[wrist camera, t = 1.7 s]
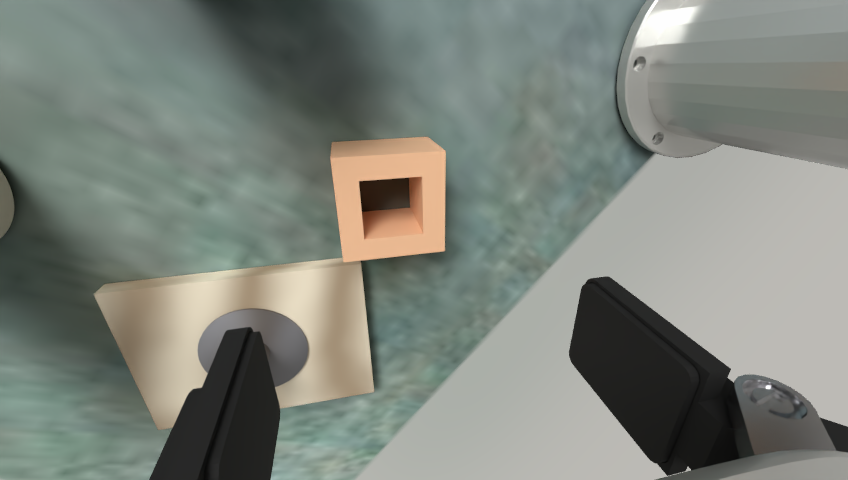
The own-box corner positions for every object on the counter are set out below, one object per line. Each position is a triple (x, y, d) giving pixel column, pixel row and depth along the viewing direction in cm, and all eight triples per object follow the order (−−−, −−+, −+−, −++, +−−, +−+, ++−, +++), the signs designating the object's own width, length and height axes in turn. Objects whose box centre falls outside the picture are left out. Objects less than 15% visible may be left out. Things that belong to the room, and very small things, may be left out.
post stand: (360, 255, 26) (367, 316, 20) (373, 380, 31) (382, 461, 25) (104, 283, 23) (16, 365, 17) (165, 416, 28) (114, 517, 22)
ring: (427, 136, 24) (445, 150, 20) (428, 223, 26) (444, 251, 22) (331, 141, 23) (330, 158, 19) (342, 231, 25) (343, 262, 21)
